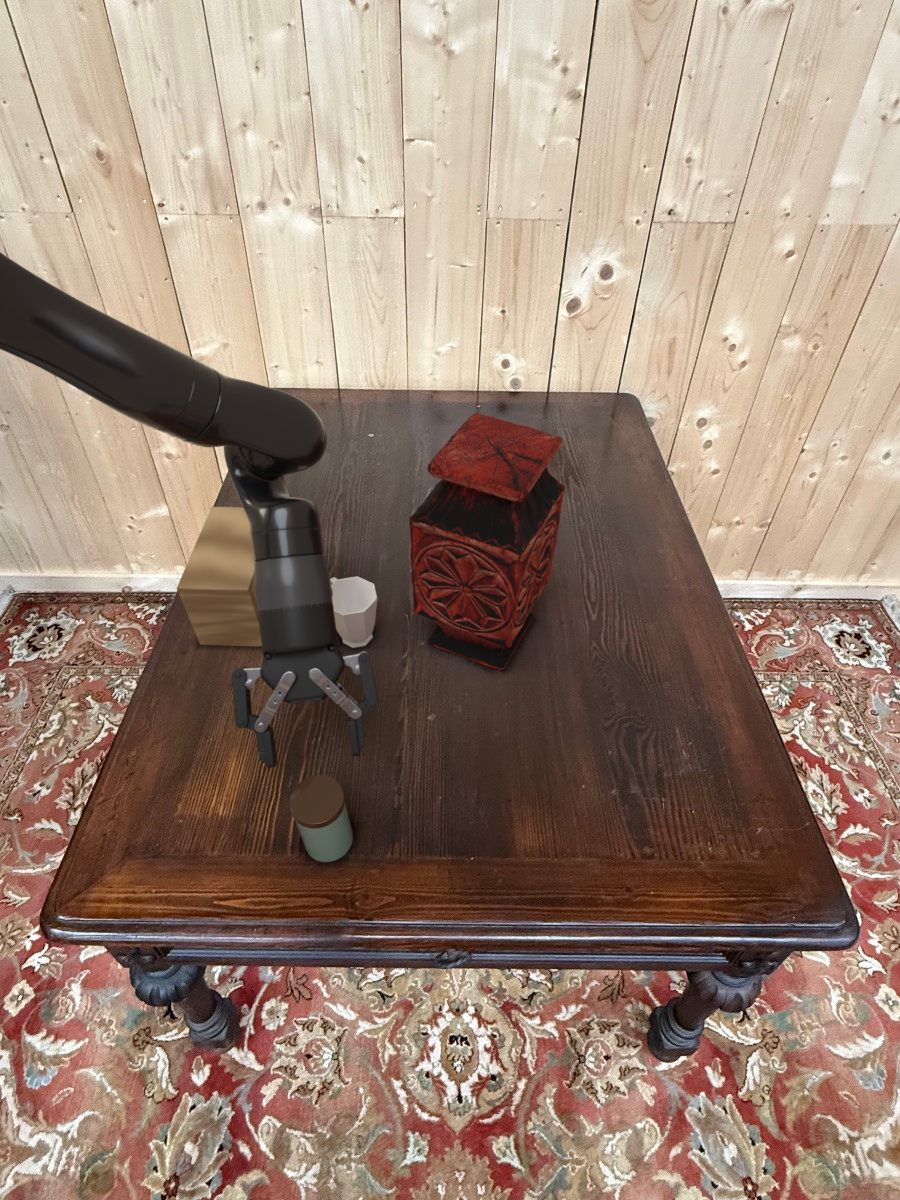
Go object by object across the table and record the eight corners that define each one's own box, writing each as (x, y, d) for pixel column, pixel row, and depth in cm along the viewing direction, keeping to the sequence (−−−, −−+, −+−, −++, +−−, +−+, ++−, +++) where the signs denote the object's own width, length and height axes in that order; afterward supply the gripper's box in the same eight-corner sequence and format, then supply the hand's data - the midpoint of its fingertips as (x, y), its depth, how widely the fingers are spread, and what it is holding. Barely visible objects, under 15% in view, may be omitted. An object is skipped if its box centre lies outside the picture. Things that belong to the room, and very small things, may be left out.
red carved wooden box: (508, 687, 88) (524, 501, 66) (414, 650, 93) (400, 464, 71) (547, 615, 97) (574, 429, 75) (460, 584, 101) (460, 400, 79)
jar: (330, 872, 72) (317, 834, 66) (293, 843, 74) (278, 804, 68) (363, 833, 75) (354, 793, 68) (327, 806, 77) (315, 765, 71)
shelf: (266, 646, 93) (248, 589, 85) (200, 645, 93) (176, 588, 85) (289, 564, 104) (275, 507, 96) (230, 563, 104) (211, 506, 96)
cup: (347, 664, 91) (339, 623, 85) (312, 617, 97) (302, 576, 91) (392, 640, 94) (388, 599, 88) (356, 597, 99) (349, 555, 94)
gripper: (214, 613, 66) (236, 780, 66) (364, 595, 67) (384, 759, 68) (231, 610, 73) (250, 761, 74) (365, 594, 75) (383, 742, 75)
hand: (314, 760), depth 71 cm, fingers open, 8 cm apart
